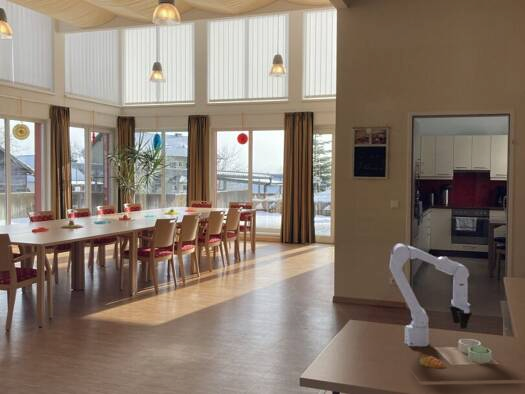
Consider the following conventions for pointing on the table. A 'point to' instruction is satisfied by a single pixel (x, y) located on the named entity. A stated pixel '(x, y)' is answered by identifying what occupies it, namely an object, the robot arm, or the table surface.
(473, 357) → the cup green
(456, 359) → the board
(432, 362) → the pastry
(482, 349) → the ball
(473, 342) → the cup grey
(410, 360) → the table surface
